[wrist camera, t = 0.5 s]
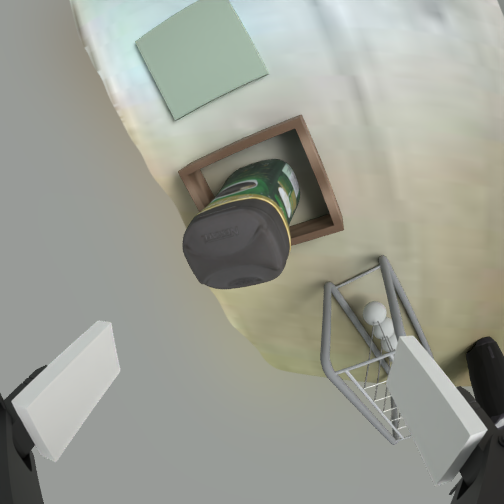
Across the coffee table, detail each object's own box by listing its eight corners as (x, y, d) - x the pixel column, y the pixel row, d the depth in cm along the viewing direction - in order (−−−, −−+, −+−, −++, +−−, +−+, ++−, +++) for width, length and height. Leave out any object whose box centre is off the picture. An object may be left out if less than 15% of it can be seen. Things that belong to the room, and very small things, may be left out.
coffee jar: (243, 221, 44) (199, 305, 29) (223, 172, 41) (160, 234, 25) (307, 205, 41) (296, 289, 25) (289, 151, 37) (264, 203, 22)
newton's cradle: (433, 357, 50) (447, 431, 36) (389, 374, 55) (393, 448, 40) (382, 248, 41) (404, 337, 27) (322, 278, 46) (317, 369, 31)
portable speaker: (485, 361, 48) (505, 433, 32) (456, 361, 50) (473, 439, 34) (504, 335, 44) (531, 409, 27) (475, 333, 45) (500, 415, 29)
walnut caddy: (189, 163, 41) (177, 171, 38) (301, 114, 34) (299, 117, 31) (235, 250, 47) (228, 264, 43) (342, 217, 40) (344, 230, 37)
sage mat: (137, 42, 32) (134, 41, 31) (222, -10, 27) (220, -12, 26) (177, 119, 38) (175, 120, 37) (269, 73, 32) (268, 73, 32)
